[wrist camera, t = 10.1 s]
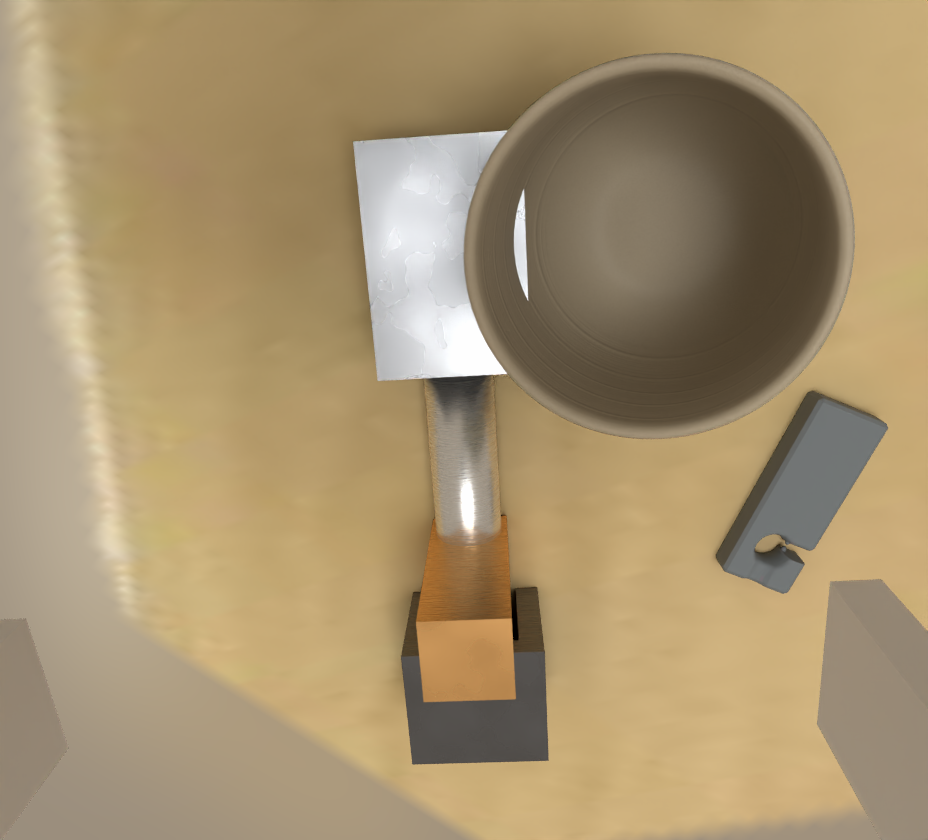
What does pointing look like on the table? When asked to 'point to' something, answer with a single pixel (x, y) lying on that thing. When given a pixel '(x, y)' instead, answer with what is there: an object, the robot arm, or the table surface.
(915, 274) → the table surface
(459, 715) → the socket
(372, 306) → the grey block
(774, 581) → the bracket
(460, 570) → the orange and grey piece
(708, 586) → the table surface
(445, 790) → the table surface
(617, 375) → the planter
